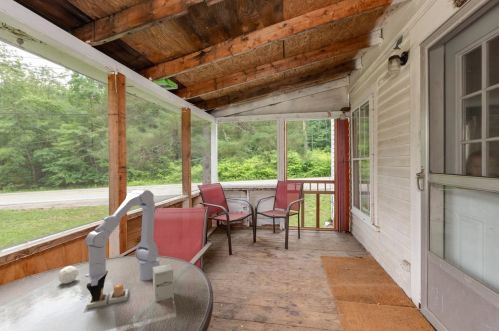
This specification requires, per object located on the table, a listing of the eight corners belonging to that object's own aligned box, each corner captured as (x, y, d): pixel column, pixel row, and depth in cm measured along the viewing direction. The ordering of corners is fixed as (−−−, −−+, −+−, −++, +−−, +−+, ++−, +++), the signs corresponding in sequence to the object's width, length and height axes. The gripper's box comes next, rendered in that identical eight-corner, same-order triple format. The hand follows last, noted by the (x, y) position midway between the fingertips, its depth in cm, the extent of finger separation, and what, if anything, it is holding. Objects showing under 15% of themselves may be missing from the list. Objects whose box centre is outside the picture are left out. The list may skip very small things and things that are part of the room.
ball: (64, 288, 115) (59, 272, 117) (83, 278, 119) (77, 263, 121) (57, 287, 108) (52, 270, 111) (77, 276, 112) (72, 261, 115)
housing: (130, 292, 104) (130, 286, 104) (128, 305, 94) (128, 298, 94) (89, 300, 98) (89, 294, 98) (83, 315, 88) (83, 308, 88)
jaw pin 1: (103, 299, 97) (103, 287, 97) (102, 303, 94) (101, 291, 94) (93, 301, 96) (93, 288, 96) (91, 305, 93) (91, 293, 93)
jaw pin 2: (123, 294, 100) (123, 283, 100) (123, 299, 97) (122, 286, 97) (114, 296, 99) (114, 284, 99) (113, 301, 96) (113, 288, 96)
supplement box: (154, 305, 94) (154, 273, 94) (153, 296, 101) (152, 266, 101) (174, 300, 97) (173, 269, 97) (171, 291, 104) (170, 262, 104)
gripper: (89, 257, 100) (90, 289, 100) (80, 270, 87) (81, 308, 87) (108, 254, 103) (109, 285, 103) (103, 267, 89) (104, 303, 90)
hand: (98, 295), depth 95 cm, fingers open, 7 cm apart
